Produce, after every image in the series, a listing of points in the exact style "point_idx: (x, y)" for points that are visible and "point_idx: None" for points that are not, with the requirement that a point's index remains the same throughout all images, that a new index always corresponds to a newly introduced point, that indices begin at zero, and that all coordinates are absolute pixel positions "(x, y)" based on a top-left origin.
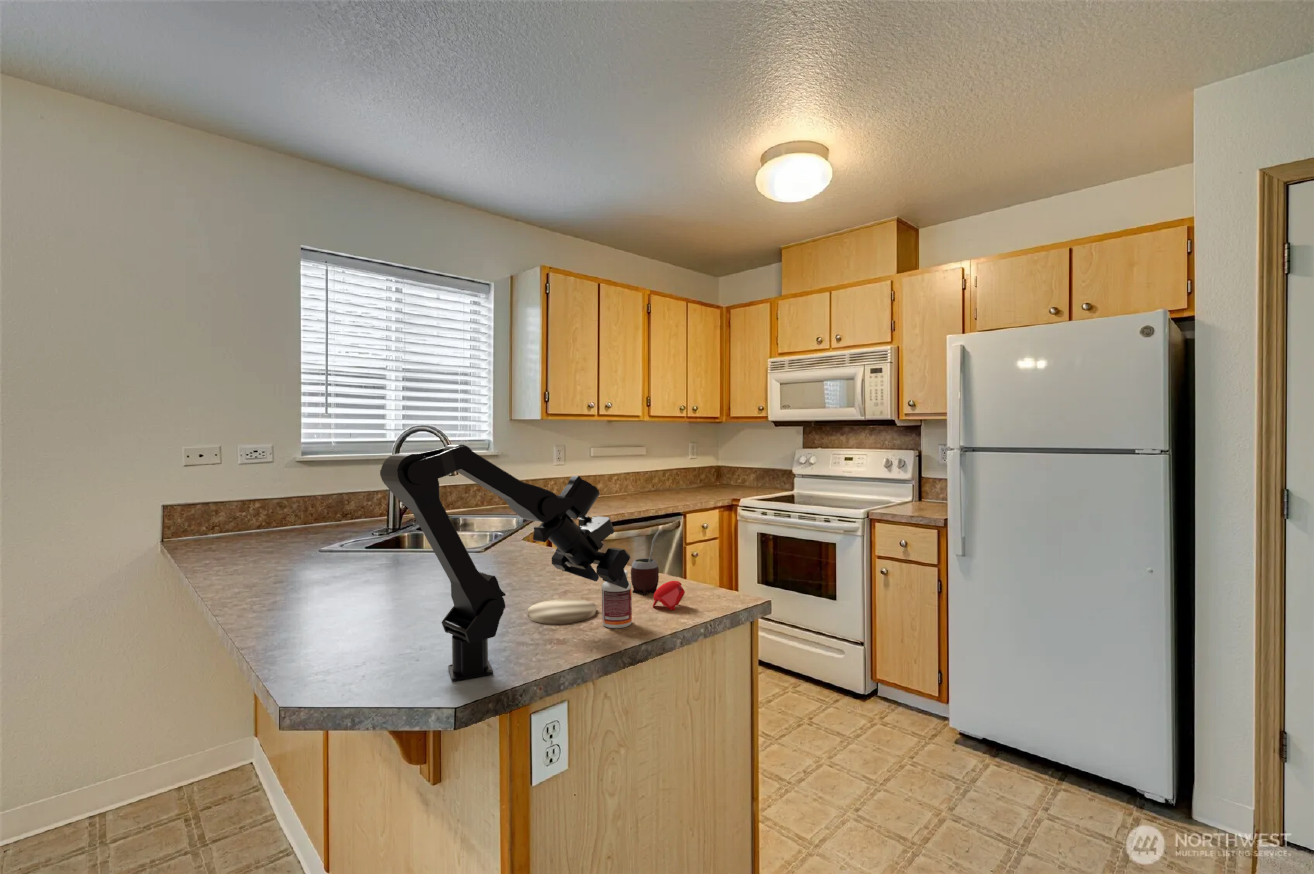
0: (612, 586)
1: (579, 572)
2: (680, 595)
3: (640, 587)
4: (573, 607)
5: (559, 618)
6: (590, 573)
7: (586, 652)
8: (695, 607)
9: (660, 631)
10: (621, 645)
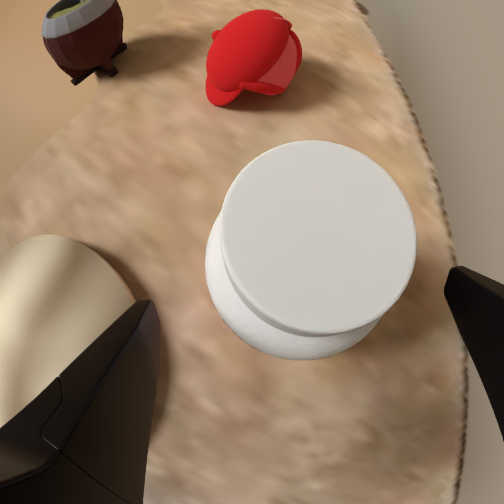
0: (364, 329)
1: (132, 499)
2: (301, 49)
3: (95, 64)
4: (53, 322)
5: None
6: (136, 388)
7: (414, 491)
8: None
9: (422, 236)
10: (443, 396)
